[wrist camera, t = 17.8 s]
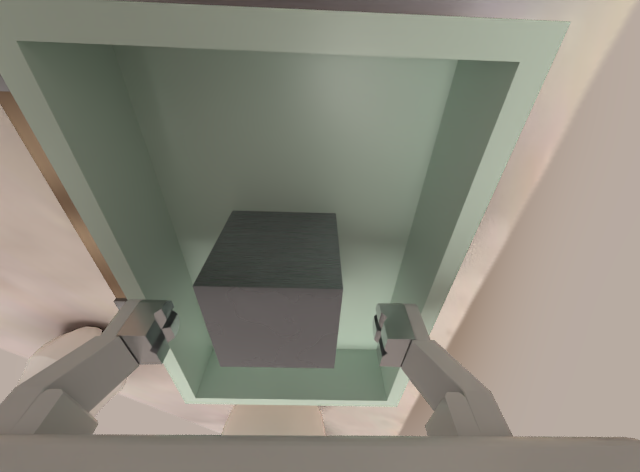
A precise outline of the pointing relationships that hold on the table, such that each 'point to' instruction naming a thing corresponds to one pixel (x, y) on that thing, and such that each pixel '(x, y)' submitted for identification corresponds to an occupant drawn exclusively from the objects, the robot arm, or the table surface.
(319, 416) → the lidded jar
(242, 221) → the metal block
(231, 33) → the mint green tray
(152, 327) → the robot arm
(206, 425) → the table surface
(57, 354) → the water bottle
